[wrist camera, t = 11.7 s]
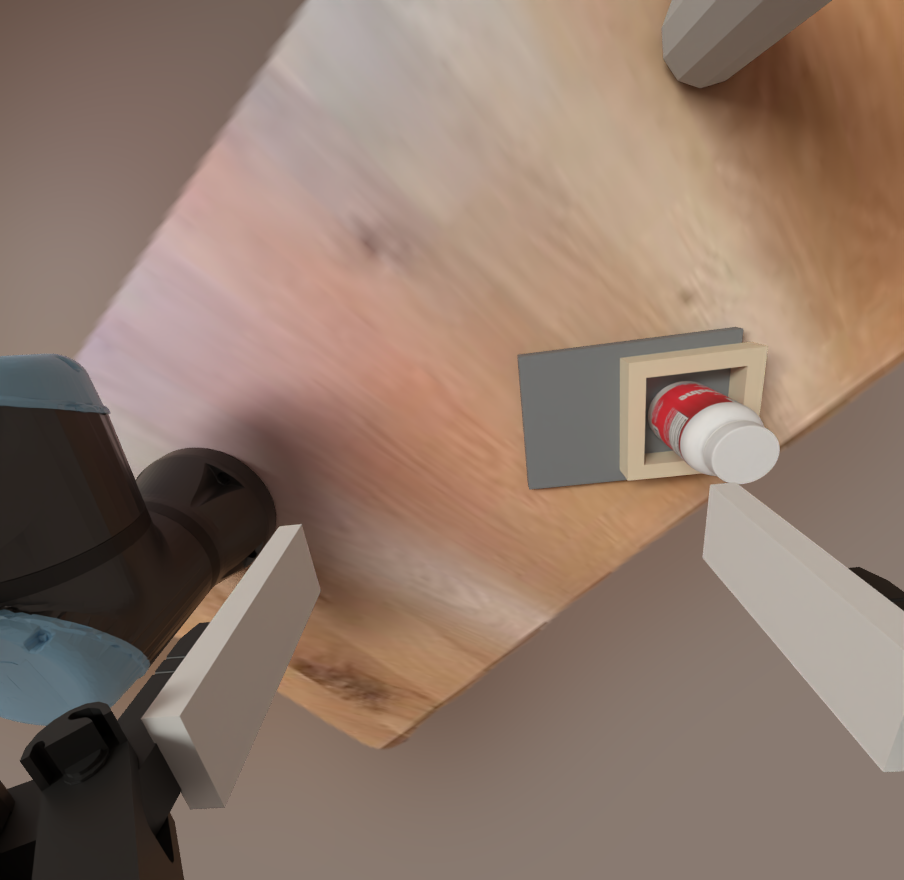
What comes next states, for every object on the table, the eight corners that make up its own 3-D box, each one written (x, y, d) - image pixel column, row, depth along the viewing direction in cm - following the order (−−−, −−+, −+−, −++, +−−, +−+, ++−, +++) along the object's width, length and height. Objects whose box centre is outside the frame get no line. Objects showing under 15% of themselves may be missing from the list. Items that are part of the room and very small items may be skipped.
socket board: (528, 484, 46) (532, 501, 43) (517, 354, 42) (521, 362, 38) (730, 464, 45) (751, 480, 41) (744, 325, 40) (770, 331, 36)
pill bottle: (722, 384, 40) (807, 423, 30) (698, 444, 43) (770, 499, 32) (657, 374, 40) (720, 409, 30) (637, 434, 43) (689, 486, 32)
